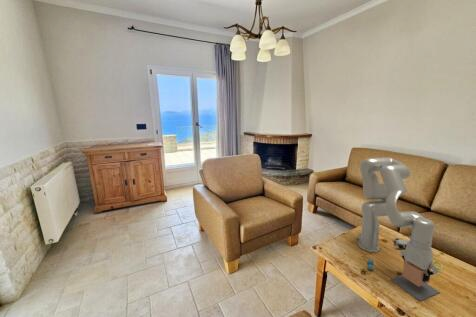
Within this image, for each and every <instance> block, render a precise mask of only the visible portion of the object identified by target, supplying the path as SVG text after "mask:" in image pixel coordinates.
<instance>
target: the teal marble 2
mask: <svg viewBox="0 0 476 317" xmlns="http://www.w3.org/2000/svg"><path fill="white" fill-rule="evenodd" d="M366 266H367V269H368V270H369V271H373V270H374V264H373V265H371V264H367V265H366Z"/></svg>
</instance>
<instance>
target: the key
mask: <svg viewBox="0 0 476 317" xmlns="http://www.w3.org/2000/svg"><path fill="white" fill-rule="evenodd" d="M434 264H439V266H440V267H437V266H435V265H434ZM433 265H434V266H435V267H436V269H437V270H438V271H439V270H440V271H441V270H444V266H443V263H441V262H440V261H439V260H438V261H437V260H433Z"/></svg>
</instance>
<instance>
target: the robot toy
mask: <svg viewBox="0 0 476 317" xmlns="http://www.w3.org/2000/svg"><path fill="white" fill-rule="evenodd" d="M392 240H394V241H393V244H394V245H395V248H396V249H406V246H407V243H408V242H409V241H410V239H408V240H404V239H400V238H397V237H393V239H392Z"/></svg>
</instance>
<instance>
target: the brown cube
mask: <svg viewBox="0 0 476 317" xmlns="http://www.w3.org/2000/svg"><path fill="white" fill-rule="evenodd" d="M430 270H431V271H432V269H431V268H430ZM427 272H428V271H427ZM402 274H403V275H402ZM402 274H401V275H402V276H403V277H405V278H406V279H408V280H409V281H411V282H412V283H414V284H415V285H417V286H418V287H419V286H422V285H424V284H429V283H430V279H431V278H430V279H429V281H426V282H423V275H424V274H425V273H424V270H422V269H421V268H419V267H417V266H415V265H414V264H412V263H410V262H409V261H406V262H404V261H403V267H402Z"/></svg>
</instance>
